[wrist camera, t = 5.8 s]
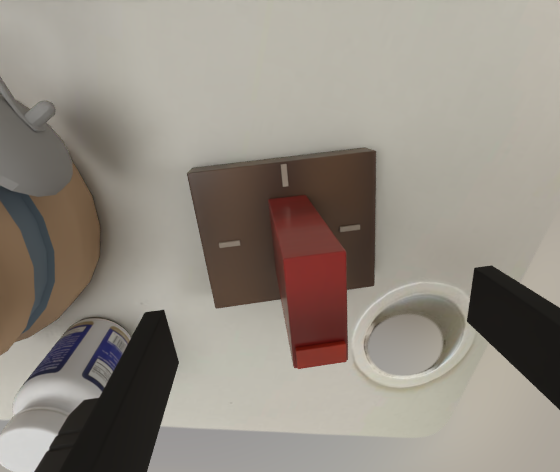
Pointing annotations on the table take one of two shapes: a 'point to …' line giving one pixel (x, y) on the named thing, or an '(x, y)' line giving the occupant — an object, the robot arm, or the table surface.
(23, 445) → the pill bottle
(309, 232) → the red rectangular block
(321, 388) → the table surface
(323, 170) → the base plate
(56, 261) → the alarm clock
